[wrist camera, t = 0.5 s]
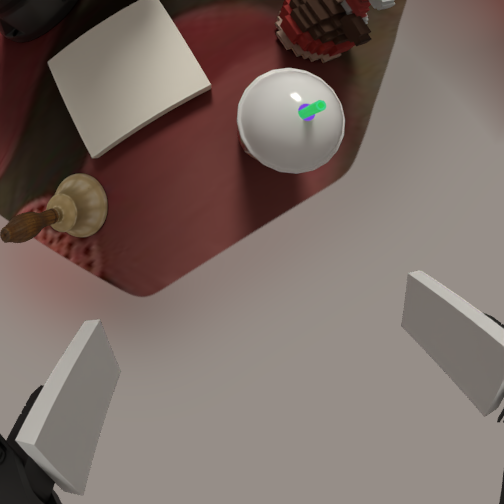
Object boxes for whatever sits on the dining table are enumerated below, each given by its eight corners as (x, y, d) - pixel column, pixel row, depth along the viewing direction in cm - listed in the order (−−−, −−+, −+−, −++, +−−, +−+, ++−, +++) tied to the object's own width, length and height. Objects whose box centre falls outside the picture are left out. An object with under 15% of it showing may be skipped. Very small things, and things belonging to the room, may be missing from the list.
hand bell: (48, 223, 34) (-26, 261, 19) (64, 164, 32) (-15, 175, 17) (97, 246, 36) (36, 299, 20) (116, 186, 34) (52, 207, 18)
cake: (258, 13, 29) (288, -73, 12) (318, -6, 28) (374, -78, 11) (301, 77, 32) (368, 22, 15) (359, 55, 32) (442, 8, 14)
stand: (54, 65, 27) (47, 62, 25) (156, -1, 26) (154, -8, 25) (98, 158, 32) (92, 158, 30) (211, 88, 31) (210, 84, 30)
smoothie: (269, 182, 36) (327, 209, 17) (215, 138, 33) (211, 110, 14) (313, 131, 34) (407, 111, 15) (261, 87, 32) (308, 15, 13)
